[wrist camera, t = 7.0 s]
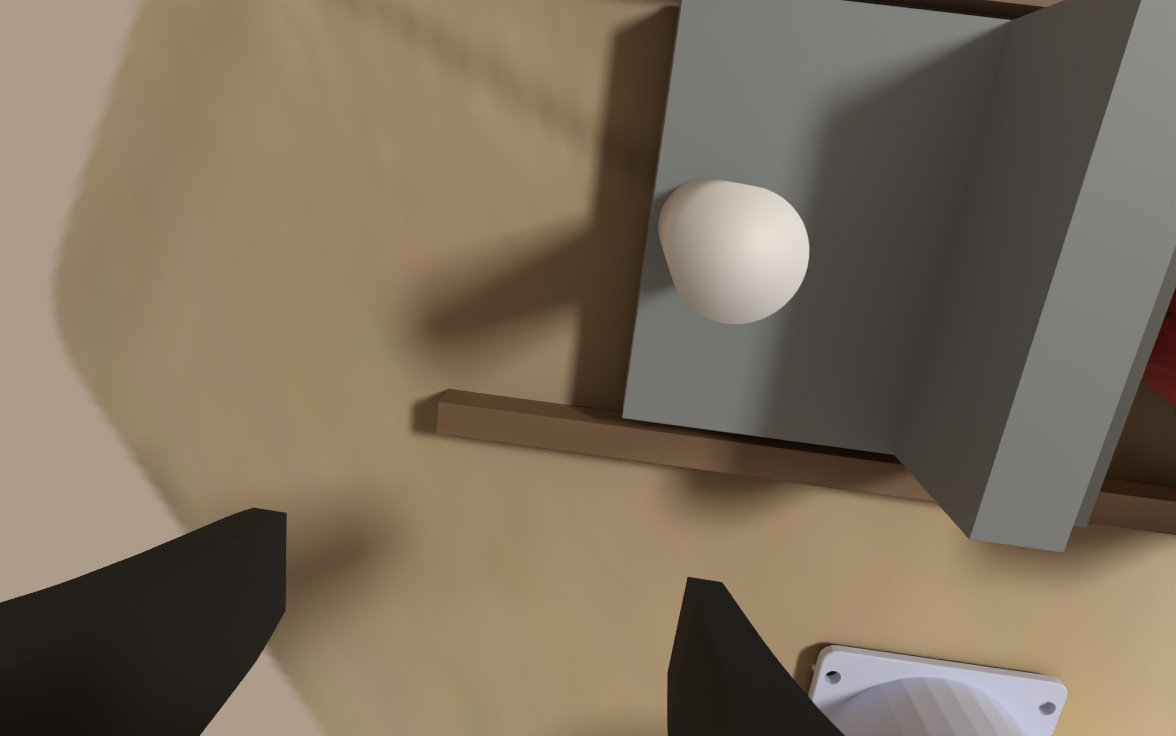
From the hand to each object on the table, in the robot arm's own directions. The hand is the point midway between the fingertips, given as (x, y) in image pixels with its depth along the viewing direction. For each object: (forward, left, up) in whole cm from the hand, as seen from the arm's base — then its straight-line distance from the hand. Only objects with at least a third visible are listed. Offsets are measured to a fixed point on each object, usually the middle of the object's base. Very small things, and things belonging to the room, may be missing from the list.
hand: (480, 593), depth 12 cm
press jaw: (+6, -7, -10) cm, 14 cm away
